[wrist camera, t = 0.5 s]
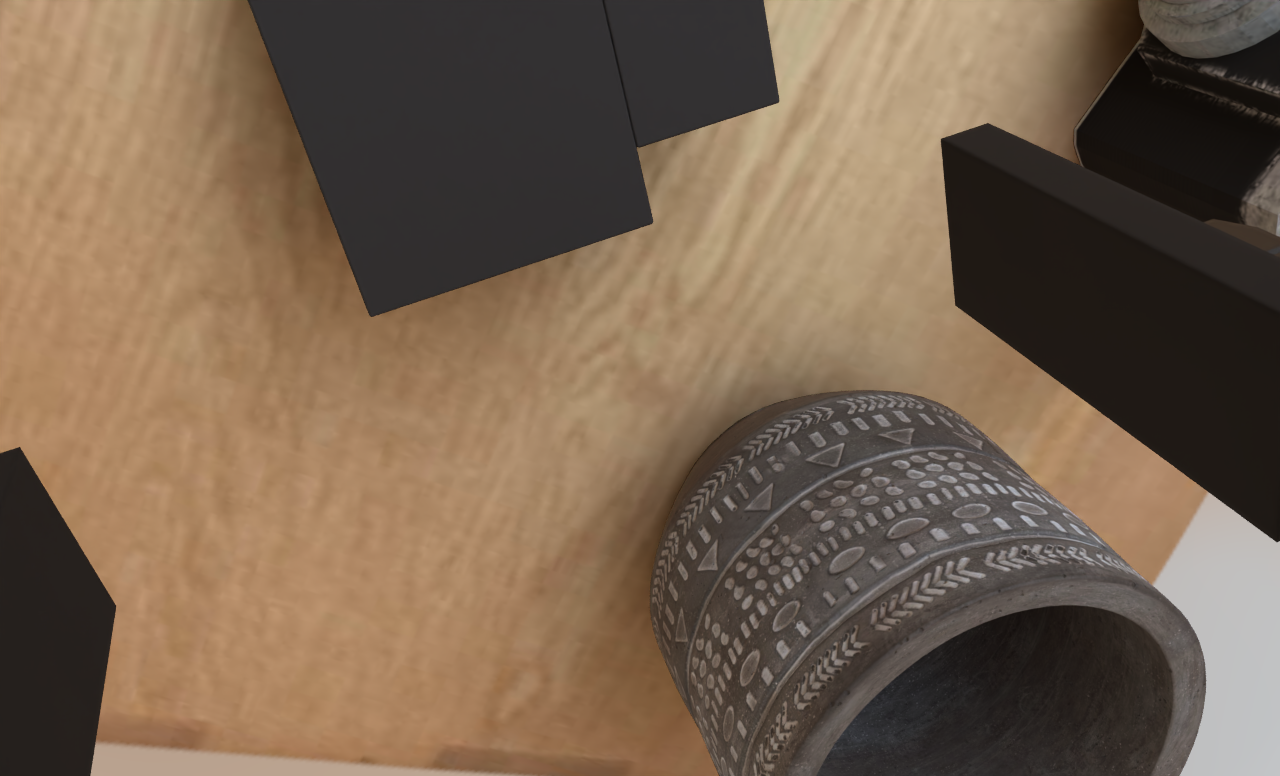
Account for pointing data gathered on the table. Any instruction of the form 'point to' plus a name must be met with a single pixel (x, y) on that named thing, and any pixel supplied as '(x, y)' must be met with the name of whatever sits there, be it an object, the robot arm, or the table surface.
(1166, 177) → the camera
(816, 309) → the table surface
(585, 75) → the pad
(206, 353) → the table surface
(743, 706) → the planter
